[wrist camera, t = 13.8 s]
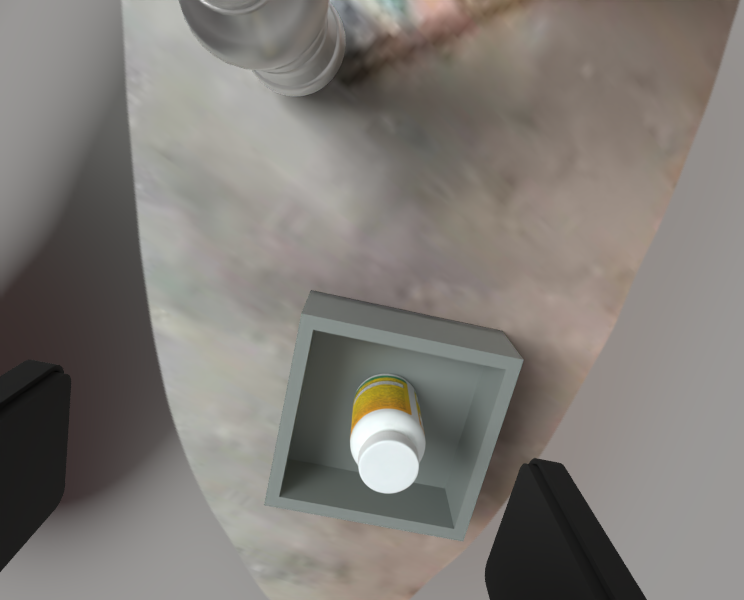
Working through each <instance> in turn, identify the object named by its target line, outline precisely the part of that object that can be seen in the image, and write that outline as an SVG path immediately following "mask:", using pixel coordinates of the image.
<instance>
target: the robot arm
mask: <svg viewBox="0 0 744 600" xmlns="http://www.w3.org/2000/svg"><path fill="white" fill-rule="evenodd" d="M70 390H71V378H70V376H69V375H68V374H64V371H63V368H62V367H61V366H60V365H55V364H50V363H45V362H40V361H35V360H27V361H24V362H23V363H21V364H19V365H18V366H16V367H15V368H13V369H12V370H10V371H8V372H7V373H5V374H3V375H2V376H0V572H1V571H2V569H3V568H4V567H5V566H6V565H7V564H8V562H9V561H10V560H11V559H12V558H13V557H14V556H15V554H16V553H17V552H18V551H19V550H20V549H21V548H22V547H23V545H24V544H25V543H26V542H27V541H28V540H29V538H30V537H31V536H32V535H33V534H34V533H35V532H36V530H37V529H38V528H39V527H40V526H41V525H42V523H43V522H44V521H45V520H46V519H47V518H48V517H49V516H50V514H51V513H52V512H53V511H54V510H55V509H56V507H57V506H58V504H59V503H60V501H61V498H62V496H63V493H64V488H65V474H66V457H67V441H68V424H69V408H70V392H71V391H70ZM485 582H486V587H487V590H488V594H489V598H490V600H647V599H646V598H645V596H644V594H643V593H642V591H641V589H640V588H639V586H638V585H637V583H636V581H635V580H634V578H633V577H632V575H631V573H630V572H629V570H628V568H627V567H626V565H625V564H624V562H623V560H622V559H621V557H620V556H619V554H618V552H617V551H616V549H615V547H614V546H613V544H612V543H611V541H610V539H609V538H608V536H607V535H606V533H605V531H604V530H603V528H602V526H601V525H600V524H599V522H598V520H597V518H596V517H595V515H594V514H593V512H592V510H591V509H590V507H589V506H588V504H587V502H586V501H585V499H584V497H583V496H582V494H581V492H580V491H579V489H578V488H577V486H576V484H575V483H574V482H573V480H572V478H571V476H570V475H569V473H568V471H567V470H566V468H565V467H564V466H563V465H562V464H561V463H557V462H552V461H546V460H542V459H537V458H534V459H532V460H531V461H530V463H529V464H526V463H525V464H523V465H522V466H521V468H520V470H519V473H518V476H517V479H516V481H515V484H514V487H513V490H512V493H511V496H510V498H509V501H508V504H507V507H506V510H505V513H504V515H503V518H502V521H501V524H500V527H499V530H498V532H497V535H496V538H495V541H494V544H493V547H492V549H491V552H490V555H489V558H488V560H487V564H486V568H485Z"/></svg>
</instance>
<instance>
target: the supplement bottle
mask: <svg viewBox="0 0 744 600" xmlns="http://www.w3.org/2000/svg"><path fill="white" fill-rule="evenodd" d="M425 443H426V442H425V434H424V429H423V423H422V418H421V412H420V407H419V402H418V397H417V394H416V392H415V390H414V388H413V387H412V385H411V384H410V383H409V382H408V381H407V380H405V379H404V378H402V377H400V376H397V375H393V374H377V375H374V376H372V377H370V378H368V379H366V380H365V381H364V382H363V383H362V384H361V385H360V386H359V387H358V389H357V391H356V393H355V397H354V402H353V413H352V426H351V435H350V448H351V453H352V456H353V458H354V460H355V462H356V463H357V465H358V469H359V474H360V476H361V479H362V480H363V482H364V483H365V484H366V485H367V486H368V487H369V488H371V489H373V490H374V491H377V492H380V493H386V494H387V493H388V494H391V493H397V492H400V491H402V490H404V489H406V488H408V487H409V486H410V485H411V484H412V483H413V482H414V481H415V479H416V477H417V475H418V472H419V463H420V461H421V459H422V457H423V455H424V451H425Z"/></svg>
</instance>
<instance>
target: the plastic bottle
mask: <svg viewBox="0 0 744 600" xmlns="http://www.w3.org/2000/svg"><path fill="white" fill-rule="evenodd" d="M178 1H179V4H180V7H181V10H182V13H183V16H184V19H185V21H186V23H187V25H188V26H189V28H190V30H191V32H192V34H193V35H194V36H195V37H196V39H197V40H198V41H199V42H200V44H201V45H202V46H203V47H204V48H205V49H207V50H208V51H209V52H210V53H211V54H213V55H214V56H215V57H217V58H219V59H221V60H222V61H224V62H226V63H228V64H231V65H234V66H238V67H241V68H244V69H249V70H252V71H253V73H254V74H255V76H256V77H257V78H258V79H259V81H260V82H261V83H263V84H264V85H265V86H266V87H267V88H269V89H271V90H272V91H274V92H276V93H279V94H282V95H285V96H293V97H298V96H306V95H309V94H312V93H315V92H316V91H318V90H320V89H322V88H323V87H324V86H326V85H327V84H328V83H329V82H330V81H331V80H332V79H333V77H334V76H335V75H336V74H337V72H338V70H339V68H340V66H341V64H342V61H343V58H344V54H345V46H346V39H345V30H344V26H343V23H342V20H341V18H340V16H339V14H338V12H337V10H336V9H335V8H334V6H333V5H332V4H331V3H330V1H329V0H178Z"/></svg>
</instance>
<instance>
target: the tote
mask: <svg viewBox="0 0 744 600" xmlns="http://www.w3.org/2000/svg"><path fill="white" fill-rule="evenodd" d="M523 361H524V360H523V358H522V357H521V356H520V354H519V353H518V352H517V350H516V349H515V347H514V346H513V345H512V343H511V342H510V341H509V339H508V338H507V337H506V335H505V334H504V333H503V331H500V330H495V329H491V328H486V327H481V326H477V325H472V324H467V323H463V322H458V321H453V320H448V319H444V318H439V317H434V316H430V315H425V314H420V313H416V312H411V311H406V310H401V309H397V308H392V307H387V306H383V305H378V304H373V303H368V302H364V301H359V300H354V299H350V298H345V297H340V296H336V295H331V294H326V293H321V292H317V291H312V290H311V291H310V294H309V296H308V299H307V301H306V304H305V306H304V309H303V311H302V313H301V319H300V324H299V329H298V334H297V339H296V344H295V349H294V355H293V360H292V365H291V370H290V375H289V380H288V385H287V391H286V396H285V401H284V406H283V411H282V416H281V421H280V427H279V432H278V437H277V442H276V447H275V452H274V457H273V462H272V468H271V473H270V478H269V483H268V488H267V493H266V498H265V504H264V505H266V506H271V507H277V508H282V509H288V510H293V511H299V512H304V513H310V514H315V515H321V516H326V517H332V518H337V519H343V520H348V521H354V522H359V523H365V524H370V525H376V526H381V527H387V528H392V529H398V530H403V531H409V532H414V533H420V534H425V535H431V536H436V537H442V538H447V539H453V540H458V541H463V540H464V537H465V534H466V531H467V528H468V525H469V522H470V519H471V516H472V513H473V510H474V507H475V504H476V501H477V498H478V495H479V492H480V489H481V486H482V483H483V480H484V477H485V474H486V471H487V468H488V465H489V462H490V459H491V456H492V453H493V450H494V447H495V444H496V441H497V438H498V435H499V432H500V429H501V426H502V423H503V420H504V417H505V414H506V411H507V408H508V405H509V402H510V399H511V396H512V393H513V390H514V388H515V385H516V382H517V379H518V376H519V373H520V370H521V367H522V364H523ZM377 374H393V375H397V376H400V377H402V378H404V379H405V380H407V381H408V382H409V383H410V384H411V385H412V387H413V388H414V390H415V392H416V394H417V397H418V402H419V407H420V412H421V418H422V423H423V429H424V434H425V442H426V443H425V451H424V455H423V457H422V459H421V461H420V463H419V472H418V475H417V477H416V479H415V481H414V482H413V483H412V484H411V485H410V486H409V487H408V488H406V489H404V490H402V491H400V492H397V493H391V494H388V493H387V494H386V493H380V492H377V491H374V490H373V489H371V488H369V487H368V486H367V485H366V484H365V483H364V482H363V480H362V479H361V476H360V474H359V469H358V465H357V463H356V462H355V460H354V458H353V456H352V453H351V448H350V435H351V426H352V413H353V402H354V397H355V393H356V391H357V389H358V387H359V386H360V385H361V384H362V383H363V382H364V381H365V380H366V379H368V378H370V377H372V376H374V375H377Z"/></svg>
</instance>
